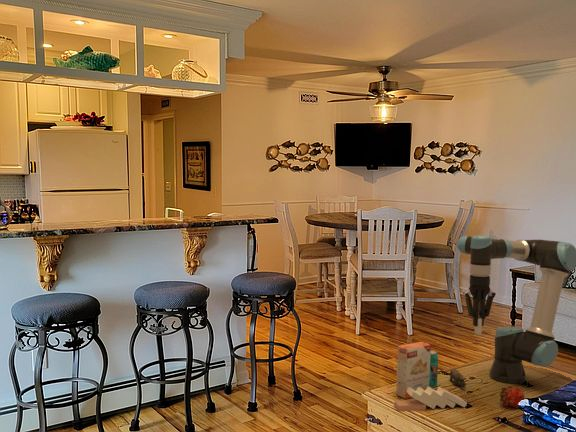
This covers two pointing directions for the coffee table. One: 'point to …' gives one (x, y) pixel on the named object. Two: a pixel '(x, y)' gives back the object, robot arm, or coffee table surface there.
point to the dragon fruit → (511, 396)
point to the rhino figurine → (457, 378)
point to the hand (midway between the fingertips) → (478, 334)
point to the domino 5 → (451, 397)
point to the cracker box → (413, 367)
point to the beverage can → (433, 369)
